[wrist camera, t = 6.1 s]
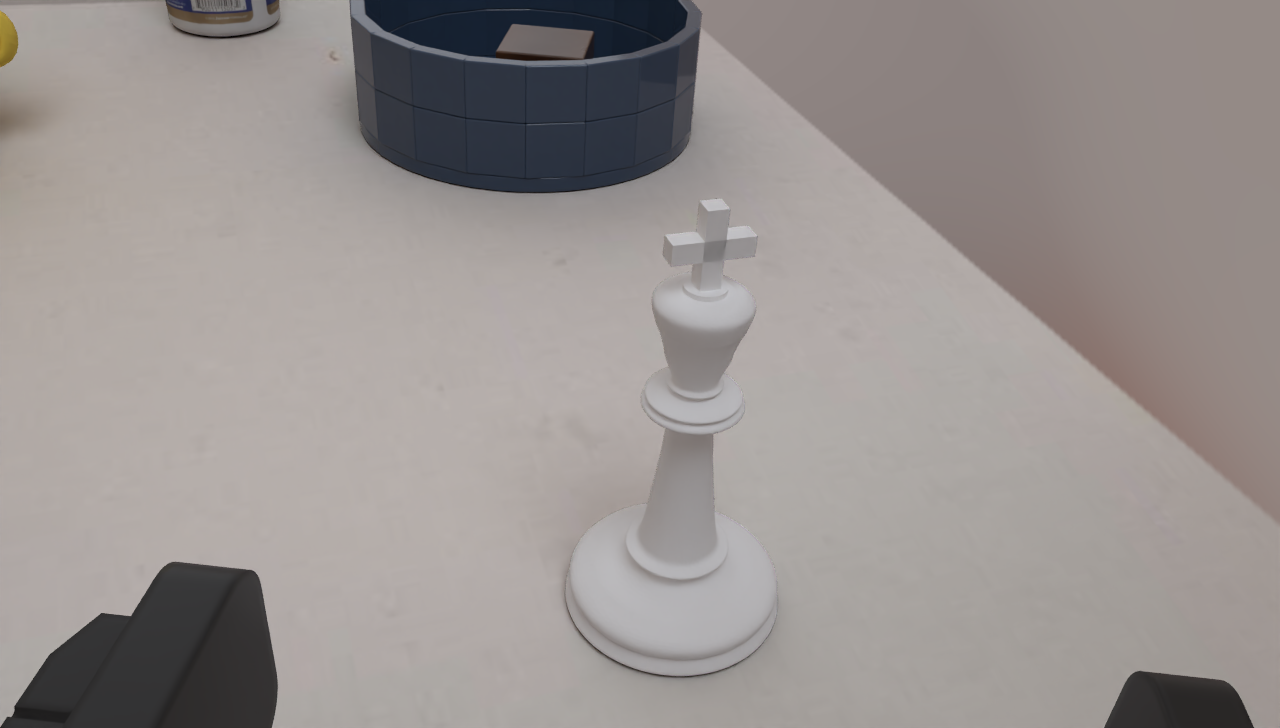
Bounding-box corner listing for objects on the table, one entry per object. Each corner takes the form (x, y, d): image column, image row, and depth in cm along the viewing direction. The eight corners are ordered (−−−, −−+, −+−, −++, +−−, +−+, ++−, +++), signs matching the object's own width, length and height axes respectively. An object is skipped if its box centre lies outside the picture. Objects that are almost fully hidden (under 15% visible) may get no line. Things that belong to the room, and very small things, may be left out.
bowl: (697, 78, 54) (707, -28, 51) (681, 208, 42) (692, 81, 39) (408, 51, 55) (402, -54, 52) (313, 173, 43) (299, 45, 40)
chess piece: (813, 649, 25) (901, 254, 19) (602, 700, 23) (630, 288, 18) (727, 505, 29) (779, 140, 23) (541, 541, 27) (547, 160, 21)
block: (591, 110, 48) (594, 30, 46) (581, 142, 45) (583, 58, 43) (511, 103, 48) (511, 23, 46) (496, 134, 45) (494, 50, 43)
